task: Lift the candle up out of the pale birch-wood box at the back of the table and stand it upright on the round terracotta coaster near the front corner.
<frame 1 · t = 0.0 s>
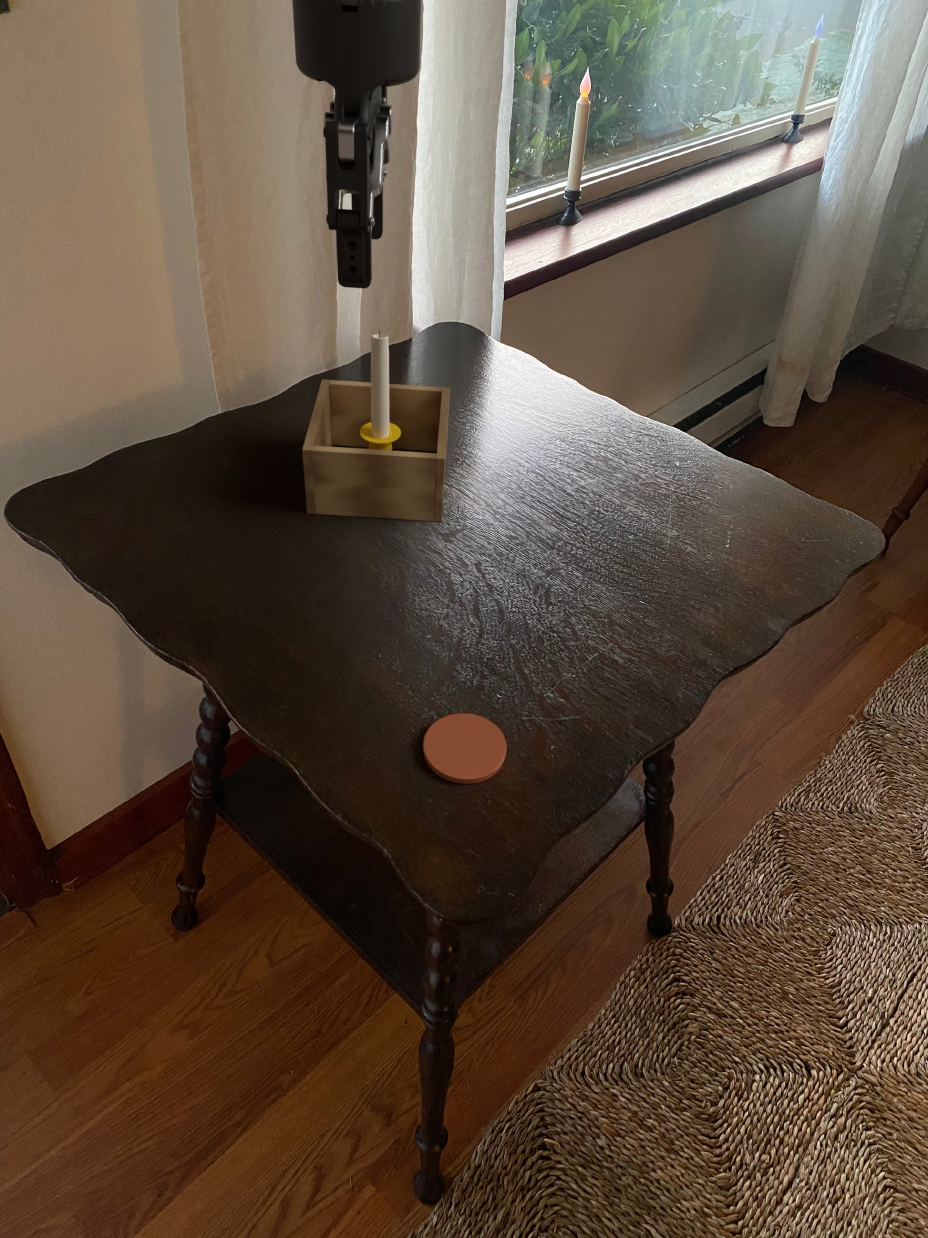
hand: (361, 260, 63), 26 cm above the table, tool pointing down, fingers open, 8 cm apart
coaster: (464, 750, 64), on the table
candle: (380, 480, 88), resting in crate
crate: (380, 479, 88), on the table
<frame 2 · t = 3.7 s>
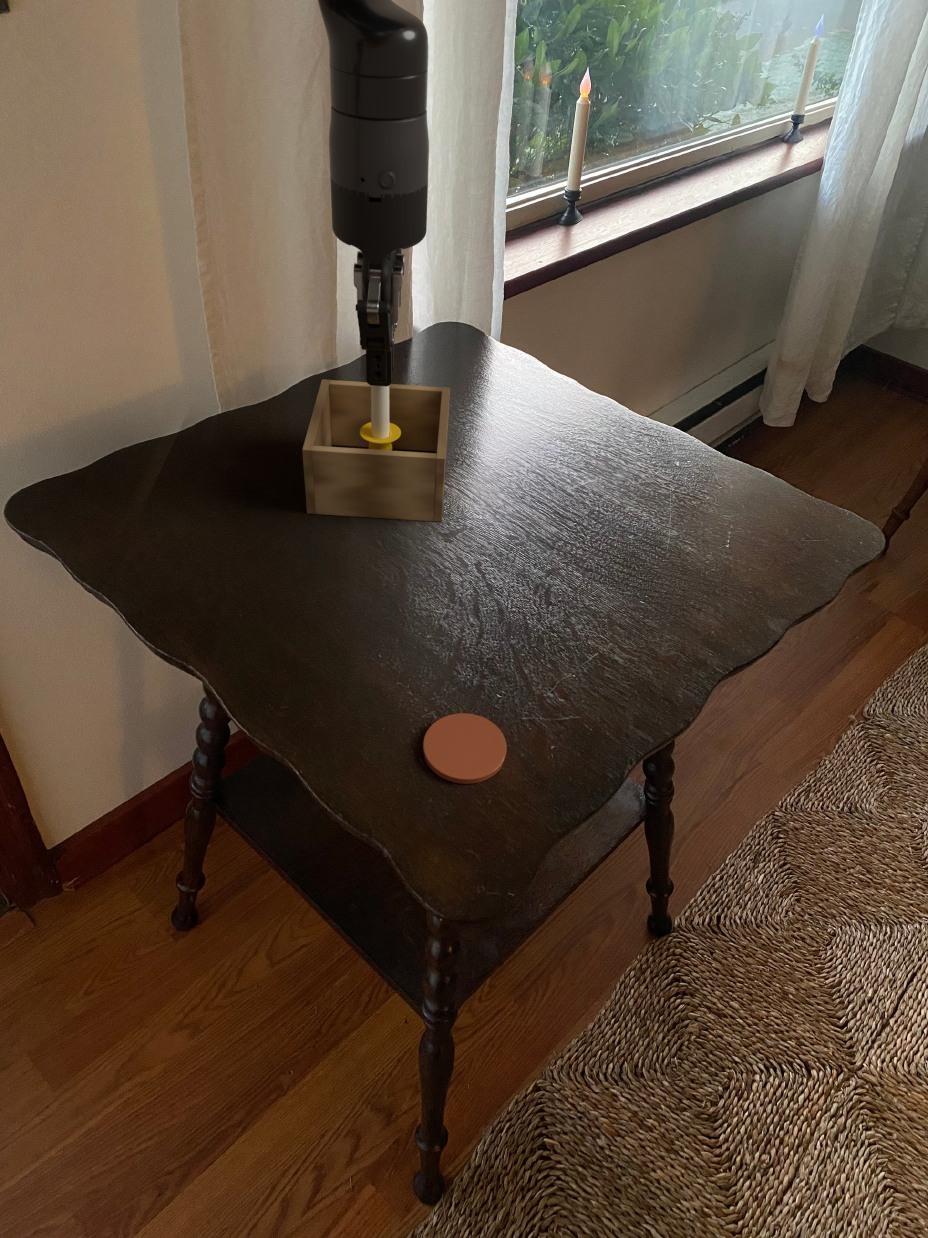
hand: (380, 377, 81), 11 cm above the table, tool pointing down, fingers closed on candle
candle: (380, 480, 88), resting in crate, touching gripper
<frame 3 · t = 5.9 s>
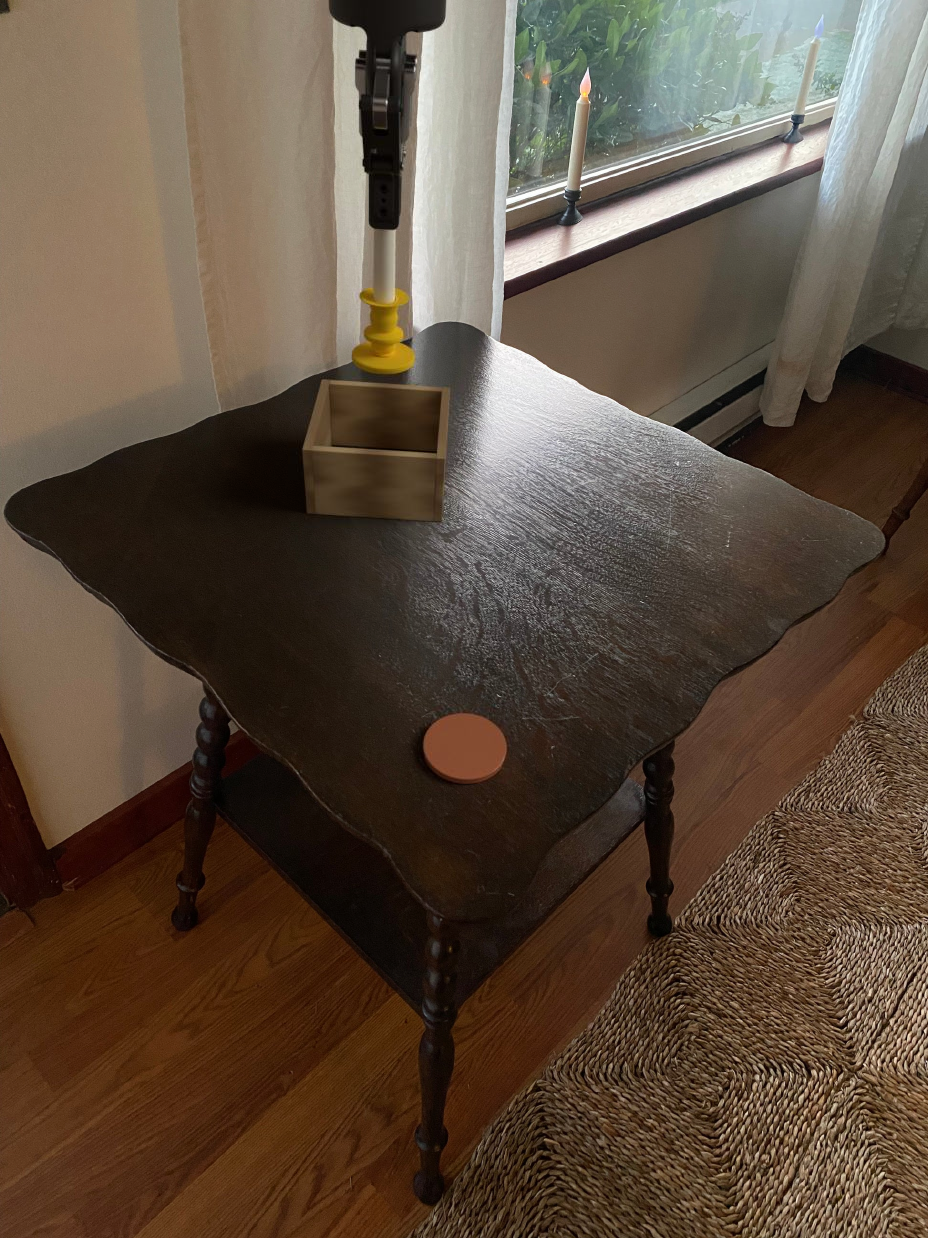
hand: (385, 221, 67), 26 cm above the table, tool pointing down, fingers closed on candle
candle: (383, 361, 74), point 15 cm above the table, touching gripper
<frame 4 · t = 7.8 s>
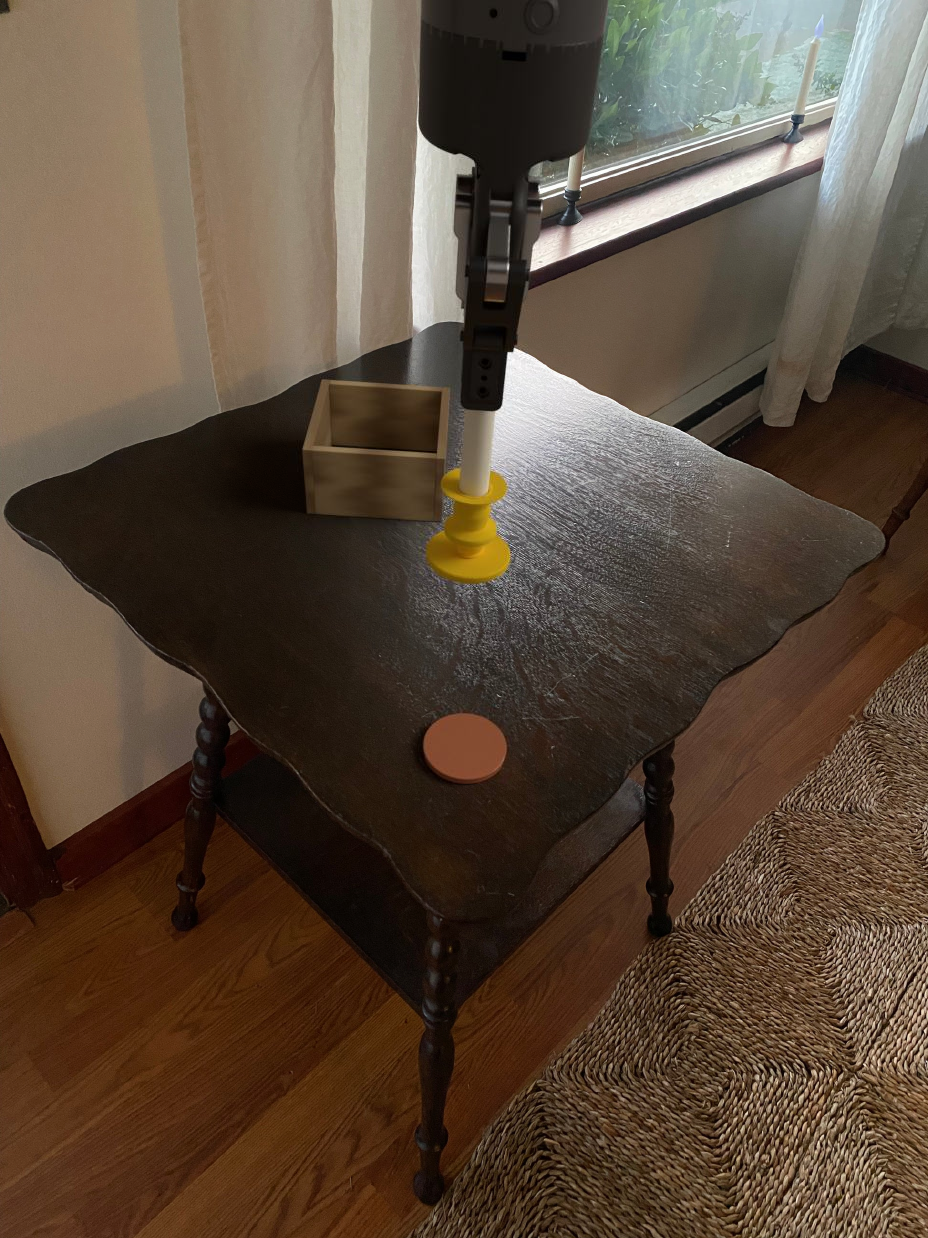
hand: (480, 395, 48), 27 cm above the table, tool pointing down, fingers closed on candle
candle: (467, 560, 56), point 16 cm above the table, touching gripper
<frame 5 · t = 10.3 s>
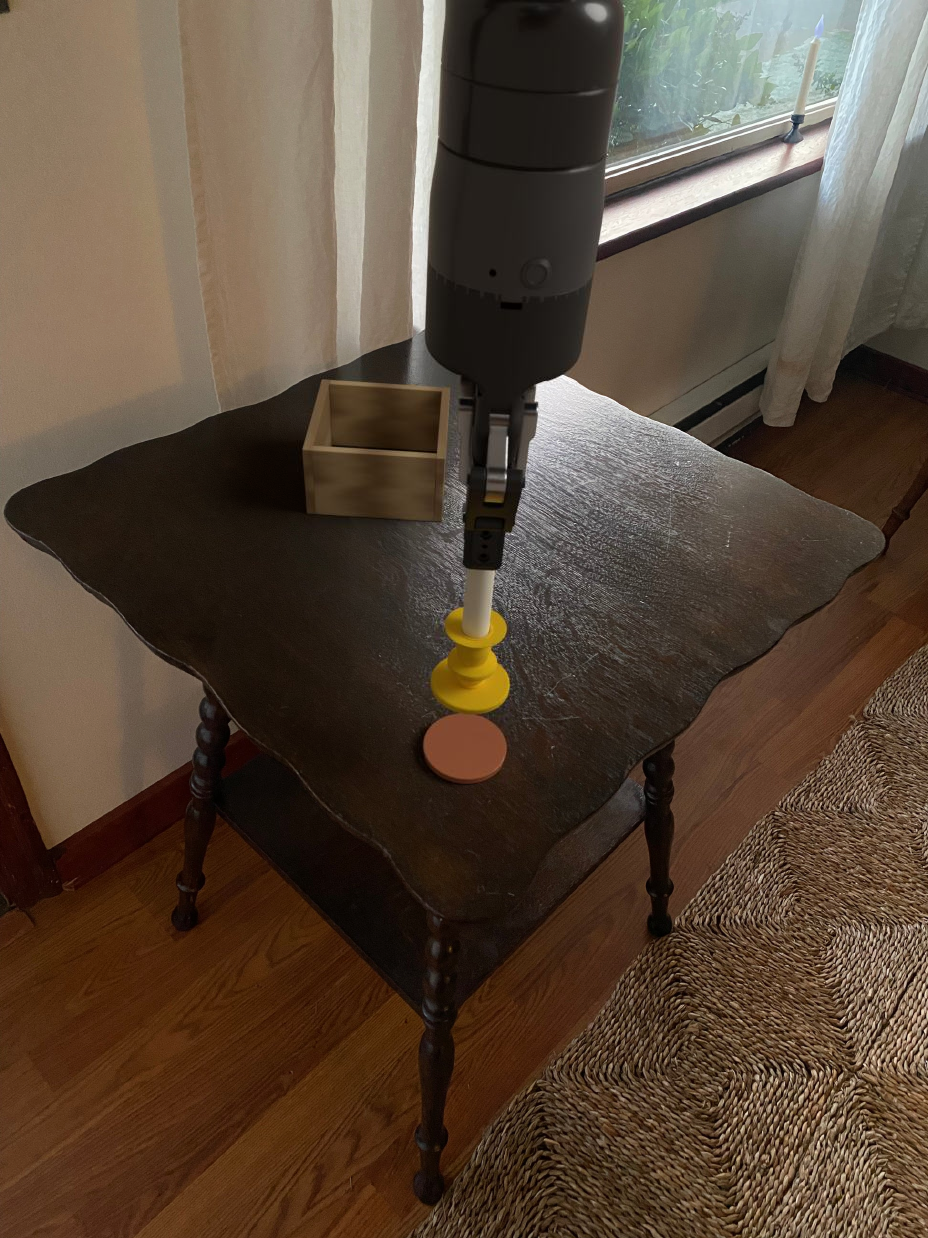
hand: (481, 553, 52), 18 cm above the table, tool pointing down, fingers closed on candle
candle: (469, 688, 59), point 7 cm above the table, touching gripper
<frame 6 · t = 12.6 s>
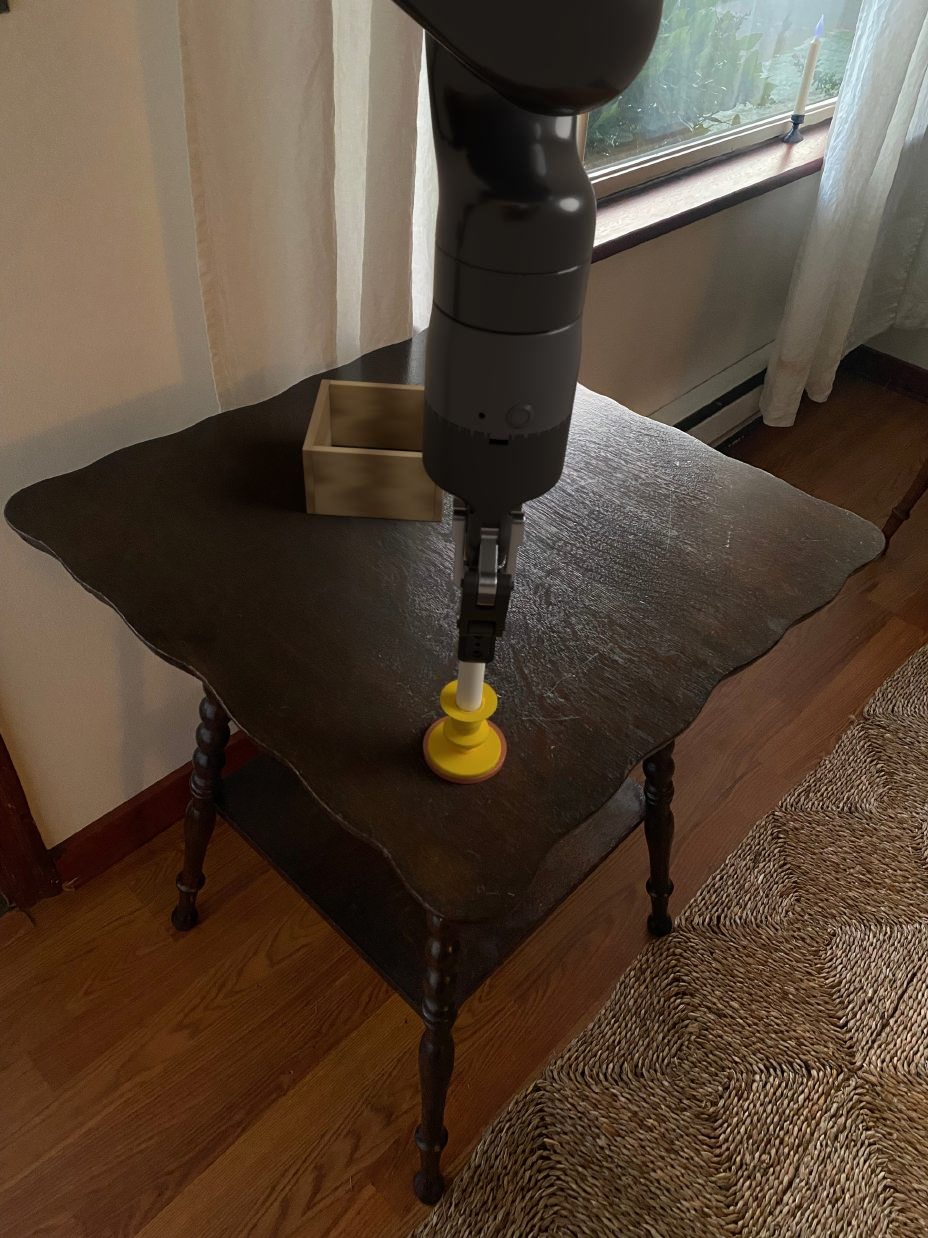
hand: (475, 633, 56), 12 cm above the table, tool pointing down, fingers open, 3 cm apart
candle: (463, 751, 64), resting on coaster
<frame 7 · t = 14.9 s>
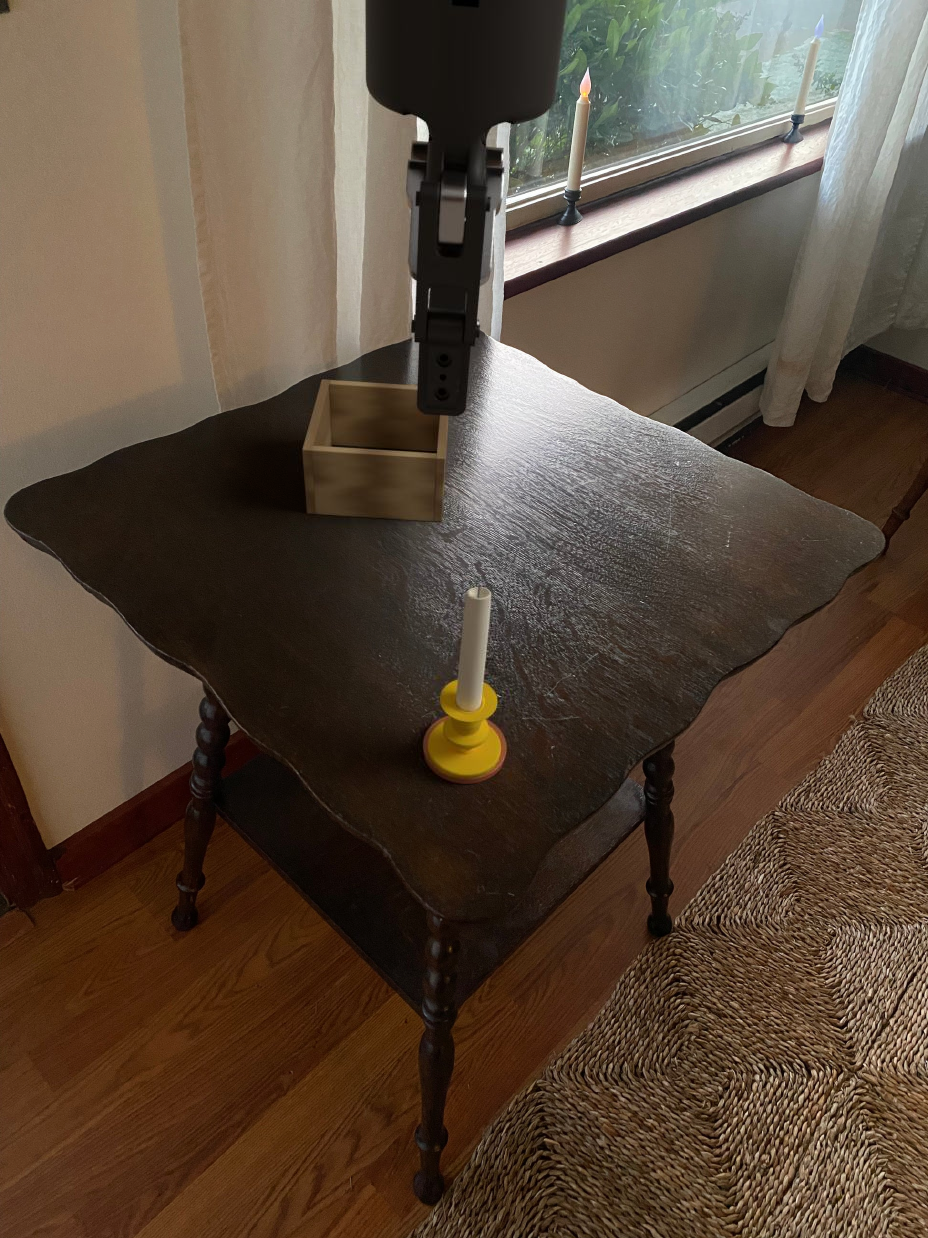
hand: (444, 365, 44), 30 cm above the table, tool pointing down, fingers open, 8 cm apart
nothing on the table moved.
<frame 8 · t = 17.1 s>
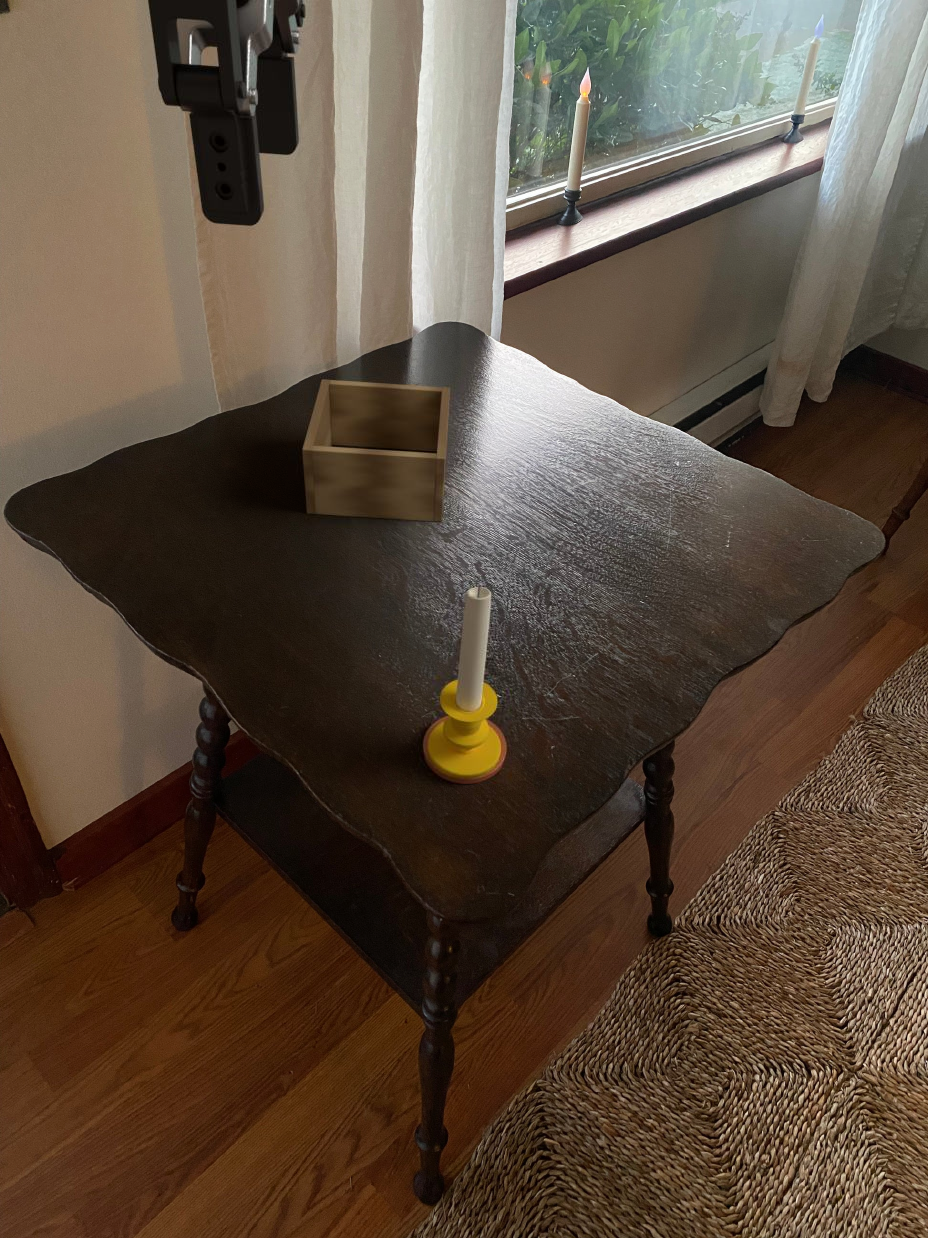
hand: (255, 183, 37), 38 cm above the table, tool pointing down, fingers open, 8 cm apart
nothing on the table moved.
at the end: candle 0.4 cm off-centre on the coaster, point 0.4 cm above the coaster's base; candle tilted 0°; candle touching coaster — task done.
